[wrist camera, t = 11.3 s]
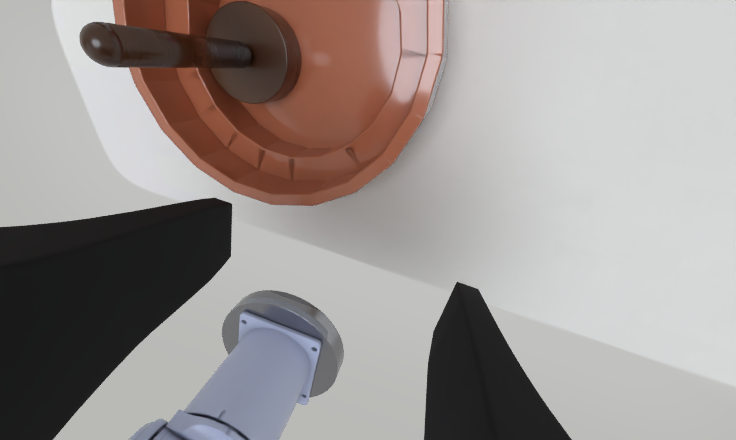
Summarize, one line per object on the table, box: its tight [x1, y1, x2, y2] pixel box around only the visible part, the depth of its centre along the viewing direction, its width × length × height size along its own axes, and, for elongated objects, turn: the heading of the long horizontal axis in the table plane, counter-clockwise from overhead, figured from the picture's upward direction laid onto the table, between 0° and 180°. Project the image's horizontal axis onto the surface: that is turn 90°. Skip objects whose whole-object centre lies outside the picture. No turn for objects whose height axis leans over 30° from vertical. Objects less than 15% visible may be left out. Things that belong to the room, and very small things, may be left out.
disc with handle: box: [80, 1, 301, 104], centre depth 13 cm, size 5×5×9 cm
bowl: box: [113, 0, 448, 206], centre depth 15 cm, size 14×14×5 cm
